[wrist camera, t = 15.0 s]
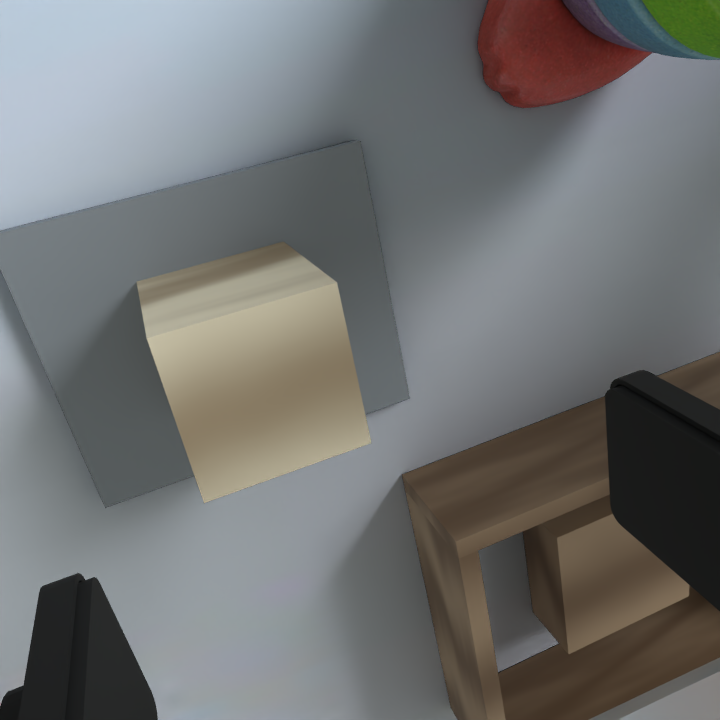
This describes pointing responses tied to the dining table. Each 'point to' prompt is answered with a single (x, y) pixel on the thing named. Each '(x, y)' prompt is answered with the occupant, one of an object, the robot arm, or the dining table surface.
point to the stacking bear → (586, 43)
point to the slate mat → (175, 252)
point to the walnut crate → (555, 571)
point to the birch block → (254, 366)
